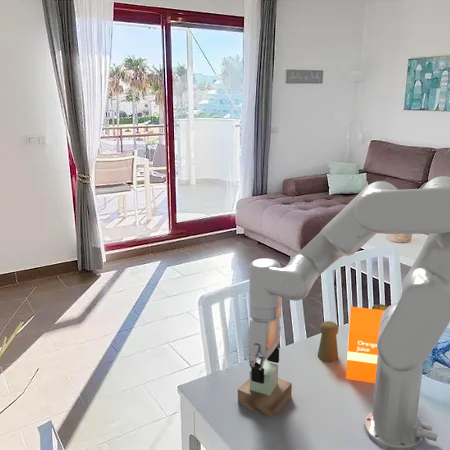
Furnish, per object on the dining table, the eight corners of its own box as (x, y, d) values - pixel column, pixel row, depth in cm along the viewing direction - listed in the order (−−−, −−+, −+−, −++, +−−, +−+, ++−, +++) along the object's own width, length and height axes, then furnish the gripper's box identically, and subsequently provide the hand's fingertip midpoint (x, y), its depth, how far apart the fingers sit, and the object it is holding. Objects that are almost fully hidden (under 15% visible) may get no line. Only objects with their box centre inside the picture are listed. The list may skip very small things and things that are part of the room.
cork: (336, 351, 140) (338, 318, 137) (339, 362, 134) (341, 328, 131) (316, 350, 140) (318, 318, 137) (318, 361, 135) (320, 328, 131)
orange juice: (346, 363, 134) (350, 300, 128) (378, 367, 131) (384, 304, 126) (345, 379, 126) (350, 313, 121) (379, 384, 124) (385, 317, 118)
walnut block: (291, 398, 120) (291, 383, 118) (271, 419, 112) (271, 404, 111) (258, 384, 125) (258, 370, 124) (237, 404, 118) (237, 389, 116)
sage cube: (277, 383, 118) (278, 364, 117) (270, 395, 114) (270, 376, 112) (258, 378, 121) (258, 359, 119) (249, 389, 116) (249, 370, 114)
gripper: (265, 293, 120) (265, 351, 125) (235, 321, 105) (237, 386, 110) (292, 298, 117) (291, 357, 121) (265, 328, 102) (266, 394, 107)
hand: (265, 371), depth 116 cm, fingers open, 9 cm apart
